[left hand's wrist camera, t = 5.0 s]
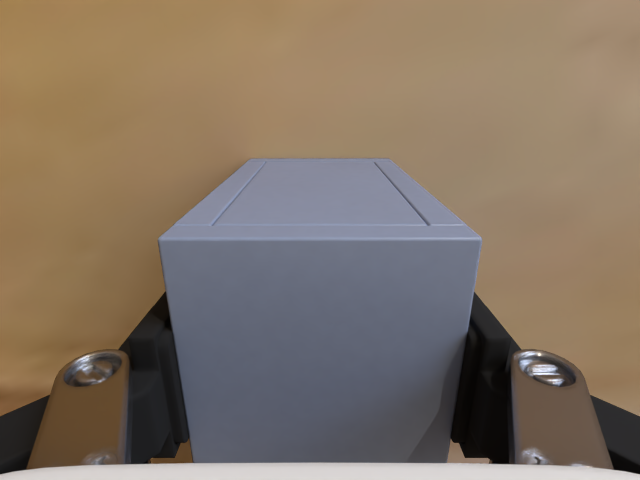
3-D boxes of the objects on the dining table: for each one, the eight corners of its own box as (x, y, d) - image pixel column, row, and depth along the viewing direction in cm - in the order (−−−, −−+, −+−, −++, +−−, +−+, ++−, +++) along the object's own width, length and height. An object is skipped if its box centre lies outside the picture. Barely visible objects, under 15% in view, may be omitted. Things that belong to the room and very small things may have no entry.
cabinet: (369, 471, 24) (404, 729, 14) (269, 471, 24) (234, 730, 14) (389, 158, 17) (484, 237, 7) (249, 158, 17) (155, 237, 7)
